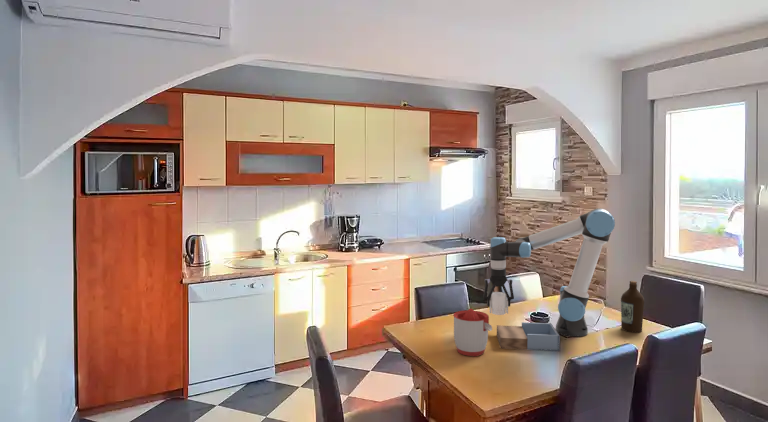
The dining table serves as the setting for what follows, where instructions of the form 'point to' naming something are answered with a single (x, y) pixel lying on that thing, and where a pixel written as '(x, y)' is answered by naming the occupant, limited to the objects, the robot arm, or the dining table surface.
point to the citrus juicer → (471, 332)
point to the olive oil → (632, 309)
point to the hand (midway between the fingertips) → (498, 312)
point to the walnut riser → (511, 337)
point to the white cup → (498, 303)
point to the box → (541, 336)
